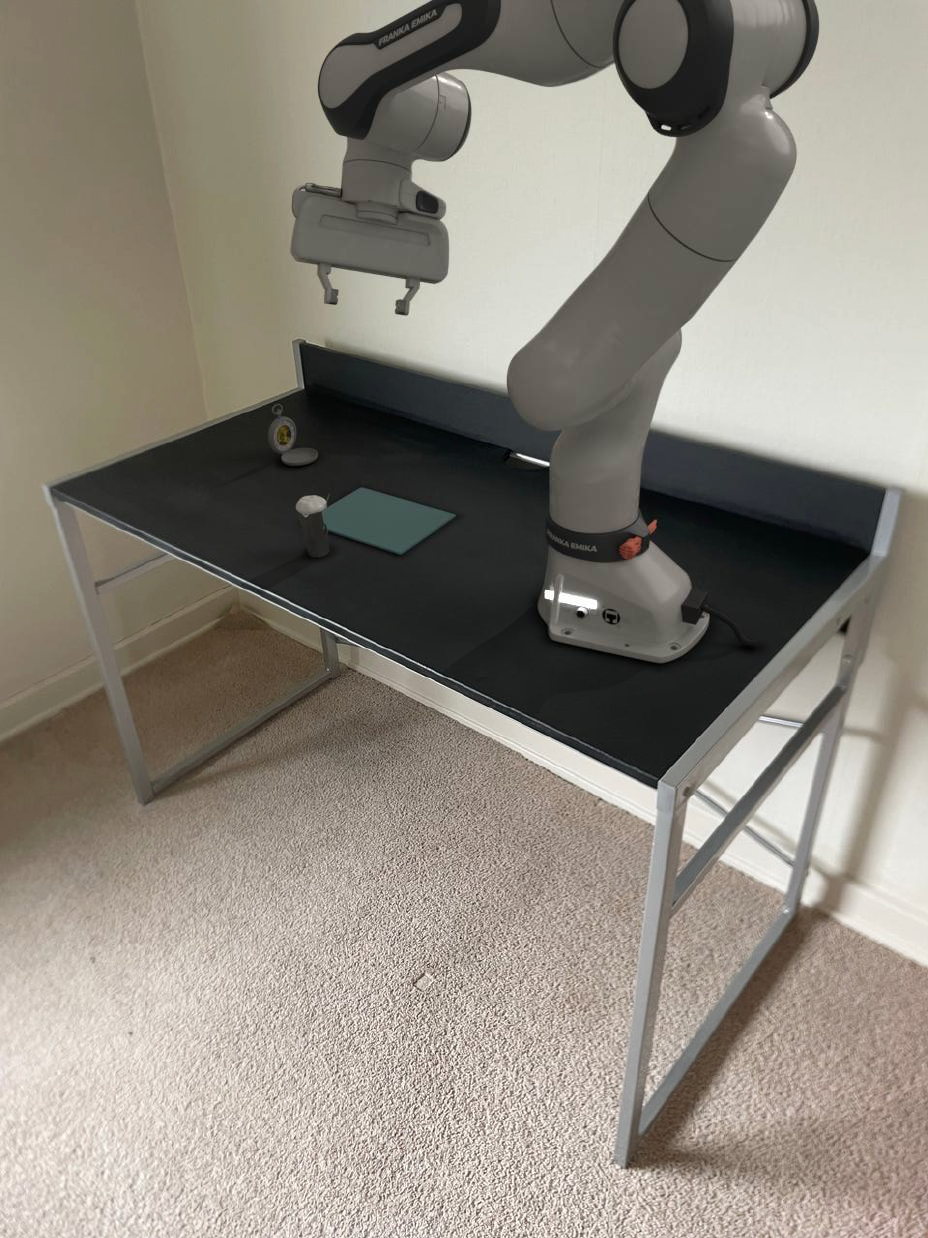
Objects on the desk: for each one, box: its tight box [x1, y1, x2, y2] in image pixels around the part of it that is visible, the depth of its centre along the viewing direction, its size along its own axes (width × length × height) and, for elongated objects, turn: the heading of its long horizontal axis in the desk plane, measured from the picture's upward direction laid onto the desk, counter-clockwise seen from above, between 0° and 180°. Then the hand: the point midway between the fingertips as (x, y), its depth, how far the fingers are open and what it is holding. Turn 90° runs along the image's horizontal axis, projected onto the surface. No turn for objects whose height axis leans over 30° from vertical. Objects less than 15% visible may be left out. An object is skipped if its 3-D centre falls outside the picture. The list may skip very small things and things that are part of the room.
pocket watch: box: [267, 403, 319, 467], centre depth 166 cm, size 8×8×10 cm
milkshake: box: [295, 493, 331, 559], centre depth 137 cm, size 4×5×10 cm
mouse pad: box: [327, 486, 457, 556], centre depth 147 cm, size 20×14×1 cm
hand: (366, 309), depth 119 cm, fingers open, 8 cm apart
